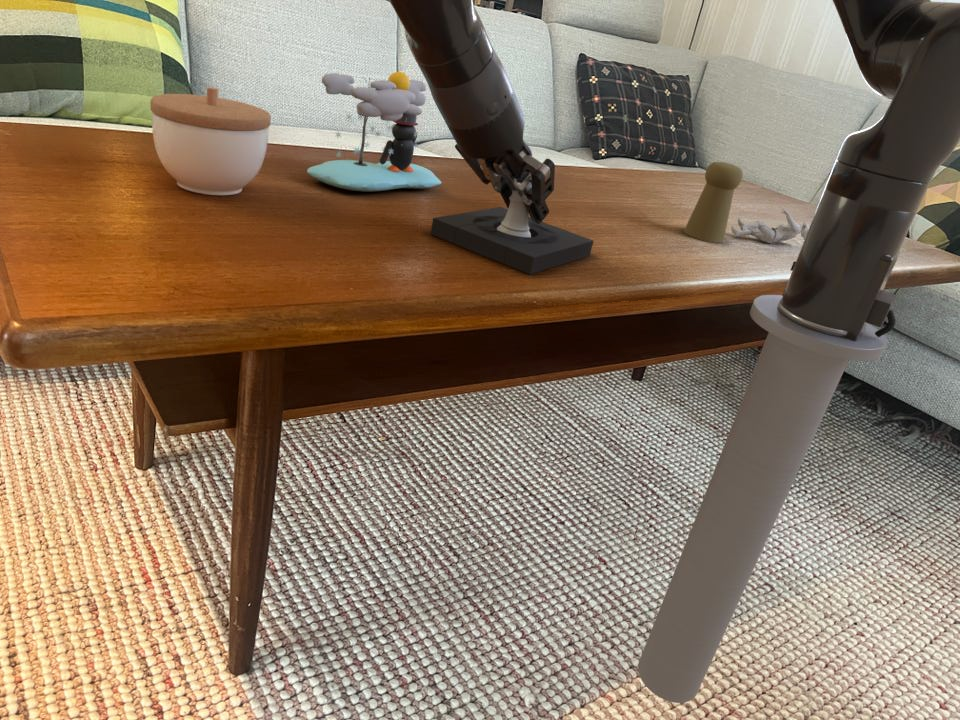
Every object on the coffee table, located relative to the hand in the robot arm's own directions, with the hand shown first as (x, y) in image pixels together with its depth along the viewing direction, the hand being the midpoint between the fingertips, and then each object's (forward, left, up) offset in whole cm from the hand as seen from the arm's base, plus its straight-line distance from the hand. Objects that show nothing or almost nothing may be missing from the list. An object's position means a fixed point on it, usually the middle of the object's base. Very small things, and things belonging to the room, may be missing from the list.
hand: (529, 212), depth 86 cm
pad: (0, +2, -4) cm, 4 cm away
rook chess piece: (0, +2, -4) cm, 5 cm away
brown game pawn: (-11, -35, -4) cm, 37 cm away
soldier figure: (-18, -45, -4) cm, 49 cm away
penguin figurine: (+25, -1, -4) cm, 26 cm away
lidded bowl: (+30, +22, -4) cm, 38 cm away
